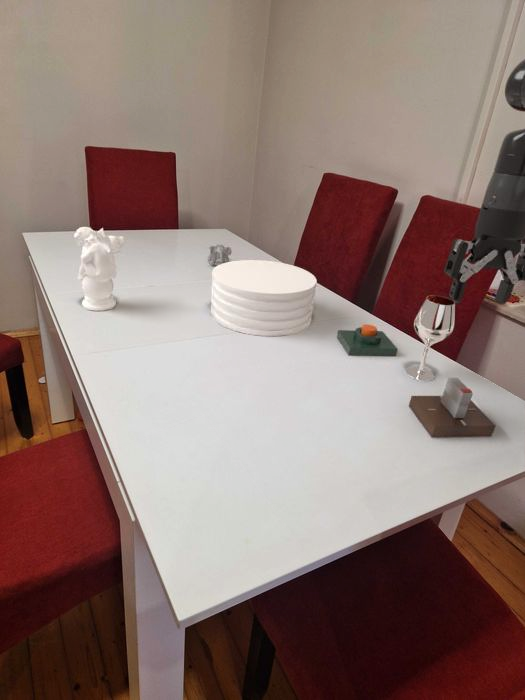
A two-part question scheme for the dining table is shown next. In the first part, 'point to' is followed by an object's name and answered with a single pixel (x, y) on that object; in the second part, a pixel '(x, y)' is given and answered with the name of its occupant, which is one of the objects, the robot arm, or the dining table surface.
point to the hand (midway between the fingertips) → (477, 301)
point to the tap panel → (450, 419)
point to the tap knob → (456, 397)
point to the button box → (366, 343)
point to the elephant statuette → (219, 254)
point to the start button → (368, 330)
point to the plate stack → (262, 297)
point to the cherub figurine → (97, 267)
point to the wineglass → (432, 329)
